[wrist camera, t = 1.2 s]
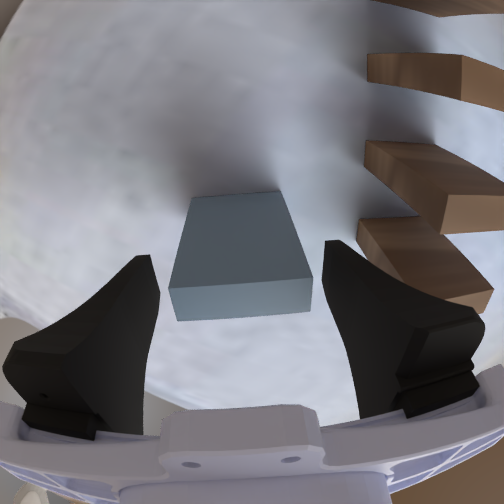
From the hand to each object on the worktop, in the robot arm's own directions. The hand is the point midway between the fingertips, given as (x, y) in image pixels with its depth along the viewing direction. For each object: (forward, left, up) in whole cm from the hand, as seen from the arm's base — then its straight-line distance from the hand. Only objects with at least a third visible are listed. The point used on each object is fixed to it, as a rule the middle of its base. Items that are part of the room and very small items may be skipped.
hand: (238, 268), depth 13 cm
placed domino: (0, 0, -6) cm, 6 cm away
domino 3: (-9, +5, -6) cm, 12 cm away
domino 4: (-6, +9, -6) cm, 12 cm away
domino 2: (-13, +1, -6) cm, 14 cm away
